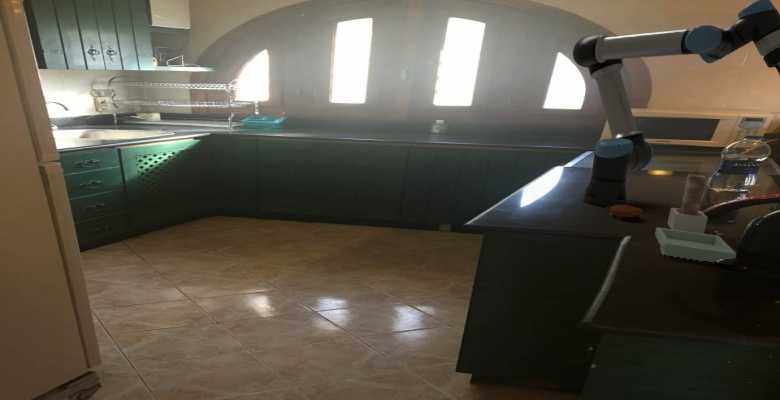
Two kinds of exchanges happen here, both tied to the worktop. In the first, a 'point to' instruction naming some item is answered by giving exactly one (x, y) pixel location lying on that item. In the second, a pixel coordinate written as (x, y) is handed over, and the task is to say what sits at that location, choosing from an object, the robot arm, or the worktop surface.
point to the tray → (693, 245)
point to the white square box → (687, 221)
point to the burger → (626, 213)
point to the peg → (692, 194)
